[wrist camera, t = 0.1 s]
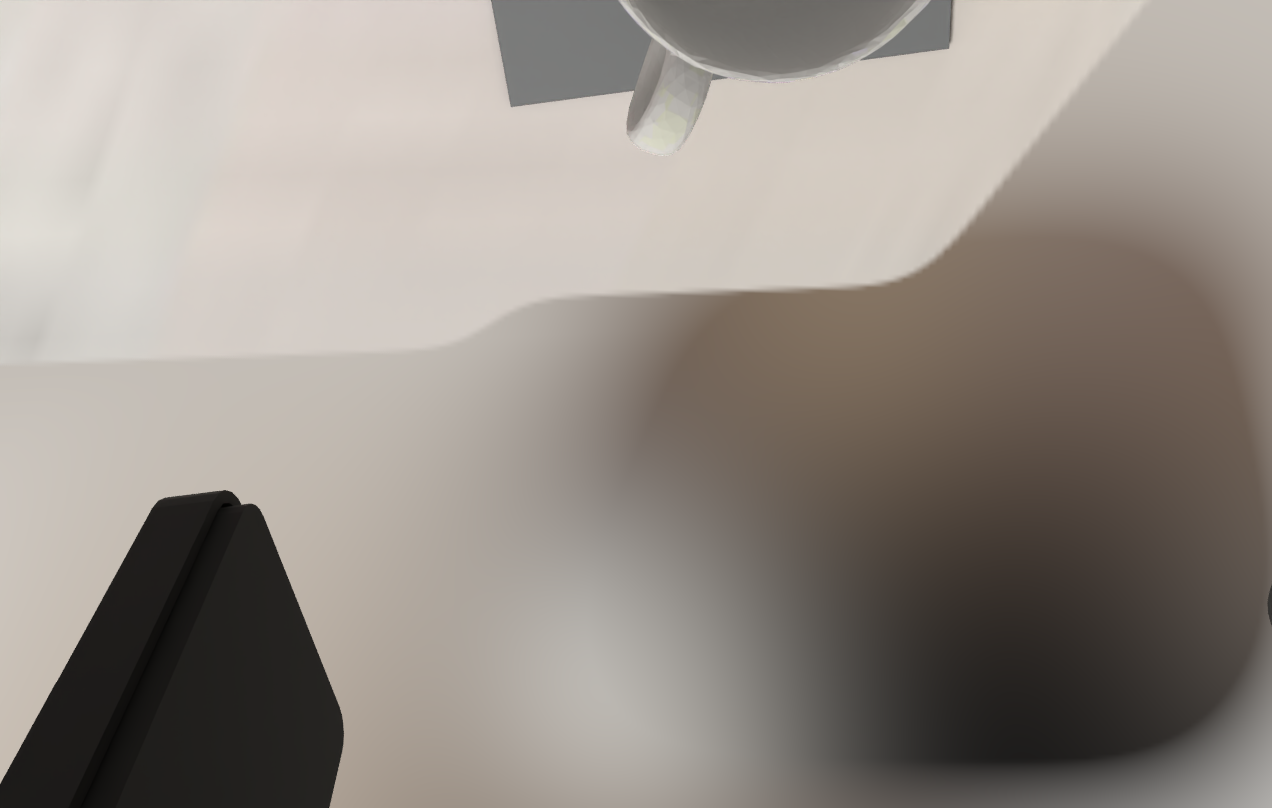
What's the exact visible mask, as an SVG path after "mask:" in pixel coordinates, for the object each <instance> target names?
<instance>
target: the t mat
mask: <svg viewBox="0 0 1272 808" xmlns="http://www.w3.org/2000/svg"><path fill="white" fill-rule="evenodd" d="M491 2H492V7H493V13H494V18H495V24H496V29H497V34H498V40H499V45H500V51H501V56H502V61H503V67H504V72H505V78H506V83H507V88H508V94H509V99H510V104H511V107H515V106H522V105H530V104H537V103H545V102H552V101H560V100H567V99H575V98H582V97H590V96H597V95H605V94H612V93H620V92H627V91H634V90H635V87H636V84H637V81H638V78H639V75H640V72H641V69H642V66H643V63H644V60H645V57H646V54H647V51H648V48H649V45H650V42H651V40H652V37H651V36H649V35H648V34H647V33H646V32H645V31H644V30H643V29H642V28H641V27H640V26H639V25H638V24H637V23H636V22H635V21H634V20H633V19H632V17H631V16H630V15H629V14H628V13H627V12H626V10H625V9H624V8H623V6H622V5H621V4H620V2H619V1H618V0H491ZM950 17H951V0H931V1H930V2H929V3H928V5H927V6H926V7H925V8H924V9H923V10H922V11H921V12H920V13H919V14H918V15H917V16H916V17H915V18H914V19H913V20H912V21H911V22H909V23H908V24H907V25H906V26H905V27H904V28H903V29H902V30H901V31H900V32H899V33H898V34H897V35H896V36H895V37H894V38H893V39H891V40H890V41H889V42H887V43H886V44H885V45H883V46H882V47H881V48H879V49H878V50H876V51H874V52H873V53H871V54H870V55H868V56H866V57H865V58H863V59H861V60H867V59H874V58H882V57H889V56H897V55H904V54H912V53H919V52H927V51H934V50H942V49H949V40H950ZM724 78H727V77H724V76H720V75H717V74H713V75H712V79H711V80H717V79H724Z"/></svg>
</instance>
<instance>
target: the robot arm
mask: <svg viewBox="0 0 1272 808" xmlns="http://www.w3.org/2000/svg"><path fill="white" fill-rule="evenodd" d="M1268 614H1269V617H1270V622H1271V624H1272V586H1271V589H1270V593H1269V597H1268ZM343 738H344V731H343V720H342V714H341V711H340V707H339V705H338V702H337V700H336V697H335V695H334V692H333V690H332V687H331V685H330V682H329V680H328V677H327V675H326V672H325V670H324V667H323V664H322V662H321V659H320V657H319V654H318V652H317V649H316V647H315V644H314V642H313V640H312V637H311V634H310V632H309V630H308V627H307V625H306V622H305V619H304V617H303V614H302V612H301V609H300V607H299V604H298V602H297V599H296V597H295V594H294V592H293V589H292V587H291V584H290V582H289V579H288V577H287V575H286V572H285V569H284V567H283V564H282V562H281V559H280V557H279V554H278V552H277V549H276V547H275V544H274V542H273V539H272V537H271V534H270V532H269V529H268V527H267V524H266V521H265V519H264V517H263V515H262V513H261V511H260V509H259V508H258V507H257V506H256V505H254V504H244V505H241V503H240V501H239V499H238V498H237V497H236V496H235V495H234V494H233V493H232V492H230V491H226V490H223V491H215V492H207V493H200V494H191V495H183V496H175V497H168V498H164V499H161V500H159V501H158V502H157V503H156V504H155V505H154V507H153V508H152V510H151V512H150V513H149V515H148V517H147V519H146V521H145V522H144V525H143V526H142V528H141V530H140V532H139V533H138V535H137V537H136V539H135V541H134V543H133V544H132V546H131V548H130V550H129V552H128V553H127V555H126V557H125V559H124V561H123V563H122V564H121V566H120V568H119V570H118V572H117V574H116V575H115V577H114V579H113V581H112V582H111V585H110V586H109V588H108V590H107V592H106V593H105V595H104V597H103V599H102V601H101V603H100V605H99V606H98V608H97V610H96V612H95V614H94V615H93V617H92V619H91V621H90V623H89V624H88V626H87V628H86V630H85V632H84V634H83V635H82V637H81V639H80V641H79V643H78V644H77V646H76V648H75V650H74V652H73V653H72V655H71V657H70V659H69V661H68V663H67V664H66V666H65V668H64V670H63V672H62V674H61V675H60V677H59V679H58V681H57V682H56V684H55V685H54V687H53V689H52V691H51V693H50V694H49V696H48V698H47V700H46V702H45V704H44V706H43V707H42V709H41V711H40V713H39V715H38V716H37V718H36V720H35V722H34V724H33V725H32V727H31V729H30V731H29V733H28V735H27V736H26V738H25V740H24V742H23V744H22V745H21V747H20V749H19V751H18V753H17V755H16V757H15V758H14V760H13V762H12V764H11V765H10V767H9V769H8V771H7V773H6V775H5V776H4V778H3V780H2V782H1V784H0V808H329V806H330V802H331V798H332V793H333V789H334V784H335V780H336V776H337V771H338V767H339V763H340V758H341V754H342V748H343Z"/></svg>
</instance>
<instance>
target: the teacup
mask: <svg viewBox="0 0 1272 808" xmlns="http://www.w3.org/2000/svg"><path fill="white" fill-rule="evenodd" d="M618 1H619V2H620V4H621V5H622V6H623V8H624V9H625V10H626V12H627V13H628V14H629V15H630V16H631V17H632V19H633V20H634V21H635V22H636V23H637V24H638V25H639V26H640V27H641V28H642V29H643V30H644V31H645V32H646V33H647V34H648V35H649V36H651V37H652V40H651V42H650V45H649V48H648V51H647V54H646V57H645V60H644V63H643V66H642V69H641V72H640V75H639V78H638V81H637V84H636V87H635V90H634V94H633V97H632V100H631V103H630V107H629V112H628V118H627V136H628V137H629V139H630V141H631V143H633V144H634V145H635V146H637V147H638V148H639V149H640V150H643V151H645V152H648V153H651V154H655V155H660V156H666V155H671V154H673V153H674V152H676V151H678V150H679V149H680V148H681V146H682V145H683V144H684V142H685V141H686V139H687V138H688V136H689V135H690V133H691V131H692V129H693V127H694V125H695V123H696V121H697V119H698V117H699V114H700V112H701V109H702V107H703V104H704V101H705V99H706V96H707V93H708V89H709V86H710V83H711V79H712V75H713V74H717V75H720V76H724V77H727V78H732V79H737V80H743V81H753V82H765V83H788V82H793V81H798V80H804V79H810V78H815V77H818V76H822V75H825V74H828V73H831V72H834V71H838V70H840V69H843V68H845V67H847V66H849V65H851V64H853V63H855V62H857V61H859V60H861V59H863V58H865V57H866V56H868V55H870V54H871V53H873V52H874V51H876V50H878V49H879V48H881V47H882V46H883V45H885V44H886V43H887V42H889V41H890V40H891V39H893V38H894V37H895V36H896V35H897V34H898V33H899V32H900V31H901V30H902V29H903V28H904V27H905V26H906V25H907V24H908V23H909V22H911V21H912V20H913V19H914V18H915V17H916V16H917V15H918V14H919V13H920V12H921V11H922V10H923V9H924V8H925V7H926V6H927V5H928V3H929V2H930V1H931V0H618Z"/></svg>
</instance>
